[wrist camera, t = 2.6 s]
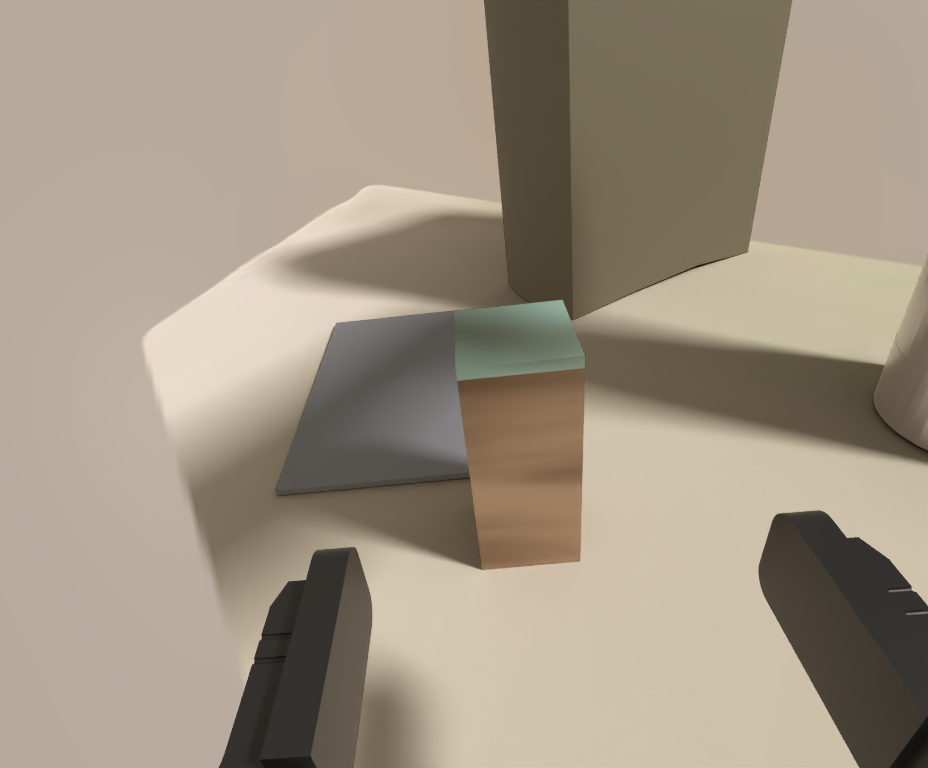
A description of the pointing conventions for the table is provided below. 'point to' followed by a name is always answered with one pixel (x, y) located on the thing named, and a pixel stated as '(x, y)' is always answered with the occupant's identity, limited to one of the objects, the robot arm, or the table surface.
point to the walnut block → (523, 430)
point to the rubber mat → (381, 409)
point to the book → (628, 137)
